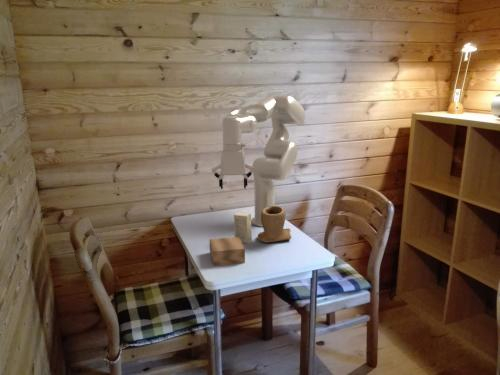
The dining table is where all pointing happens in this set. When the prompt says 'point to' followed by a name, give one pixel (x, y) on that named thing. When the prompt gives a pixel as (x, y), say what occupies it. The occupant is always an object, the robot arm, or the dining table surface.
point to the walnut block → (227, 251)
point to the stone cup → (273, 225)
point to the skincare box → (243, 226)
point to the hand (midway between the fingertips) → (233, 188)
